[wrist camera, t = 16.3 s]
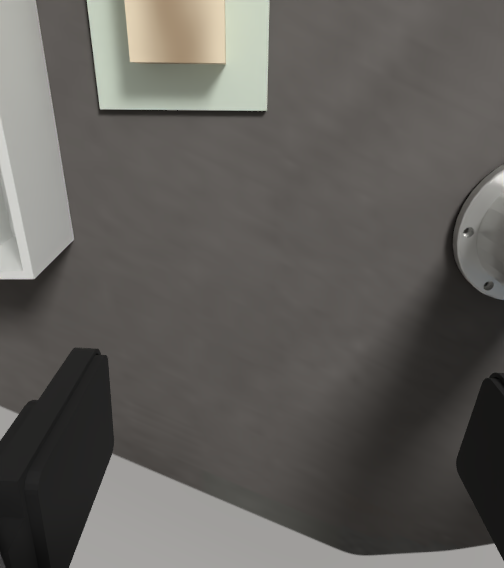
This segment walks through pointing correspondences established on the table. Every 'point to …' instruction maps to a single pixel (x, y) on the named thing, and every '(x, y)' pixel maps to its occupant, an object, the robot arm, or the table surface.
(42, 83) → the box
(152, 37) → the beige wooden block
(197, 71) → the mat
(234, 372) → the table surface
